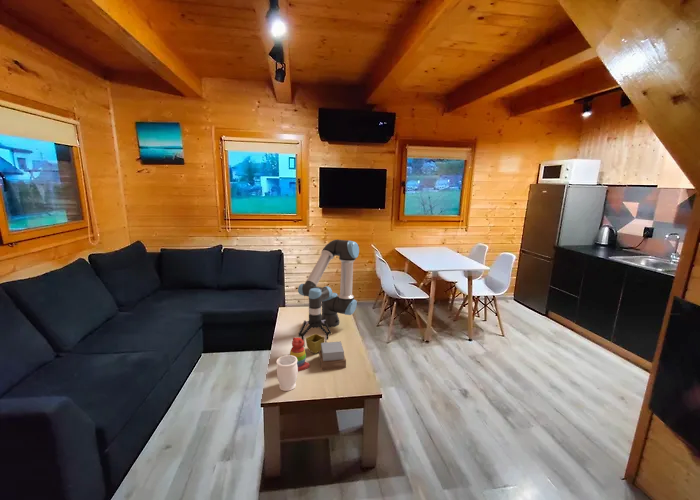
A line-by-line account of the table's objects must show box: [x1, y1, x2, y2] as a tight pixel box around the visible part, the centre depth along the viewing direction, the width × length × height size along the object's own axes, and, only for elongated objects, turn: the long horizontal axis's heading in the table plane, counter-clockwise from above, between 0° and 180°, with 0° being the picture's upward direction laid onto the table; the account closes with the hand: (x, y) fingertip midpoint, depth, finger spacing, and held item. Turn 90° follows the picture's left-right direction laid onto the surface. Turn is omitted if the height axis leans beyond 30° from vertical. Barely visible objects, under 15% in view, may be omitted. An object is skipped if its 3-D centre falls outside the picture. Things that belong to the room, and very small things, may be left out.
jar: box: [276, 354, 299, 392], centre depth 161 cm, size 11×10×15 cm
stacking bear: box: [289, 337, 311, 372], centre depth 179 cm, size 11×10×18 cm
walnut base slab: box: [318, 350, 347, 371], centre depth 185 cm, size 14×14×5 cm
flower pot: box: [305, 333, 325, 354], centre depth 197 cm, size 9×9×9 cm
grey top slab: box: [321, 341, 345, 361], centre depth 184 cm, size 12×12×5 cm
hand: (314, 345), depth 196 cm, fingers open, 13 cm apart
